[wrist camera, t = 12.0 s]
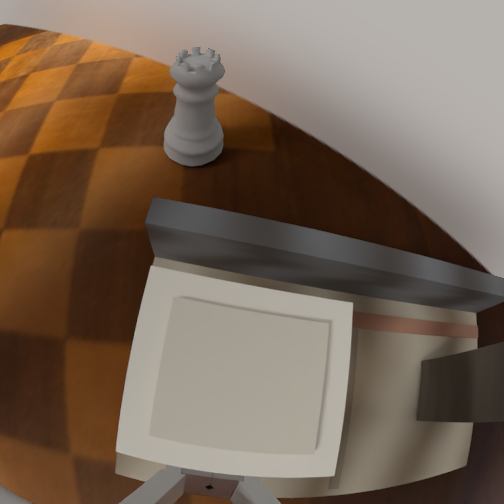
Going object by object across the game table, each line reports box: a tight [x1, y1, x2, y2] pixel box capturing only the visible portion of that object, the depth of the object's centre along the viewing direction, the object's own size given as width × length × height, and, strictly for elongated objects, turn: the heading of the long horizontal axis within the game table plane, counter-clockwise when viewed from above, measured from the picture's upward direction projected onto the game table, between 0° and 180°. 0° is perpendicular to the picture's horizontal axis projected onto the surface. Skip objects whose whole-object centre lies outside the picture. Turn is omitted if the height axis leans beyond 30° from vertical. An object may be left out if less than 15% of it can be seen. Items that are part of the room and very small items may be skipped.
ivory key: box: [116, 266, 353, 478], centre depth 10 cm, size 4×4×10 cm
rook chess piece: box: [164, 47, 225, 167], centre depth 18 cm, size 4×4×8 cm
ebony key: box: [417, 341, 504, 423], centre depth 11 cm, size 4×4×10 cm
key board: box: [115, 197, 504, 498], centre depth 14 cm, size 24×14×5 cm, turn 82°
